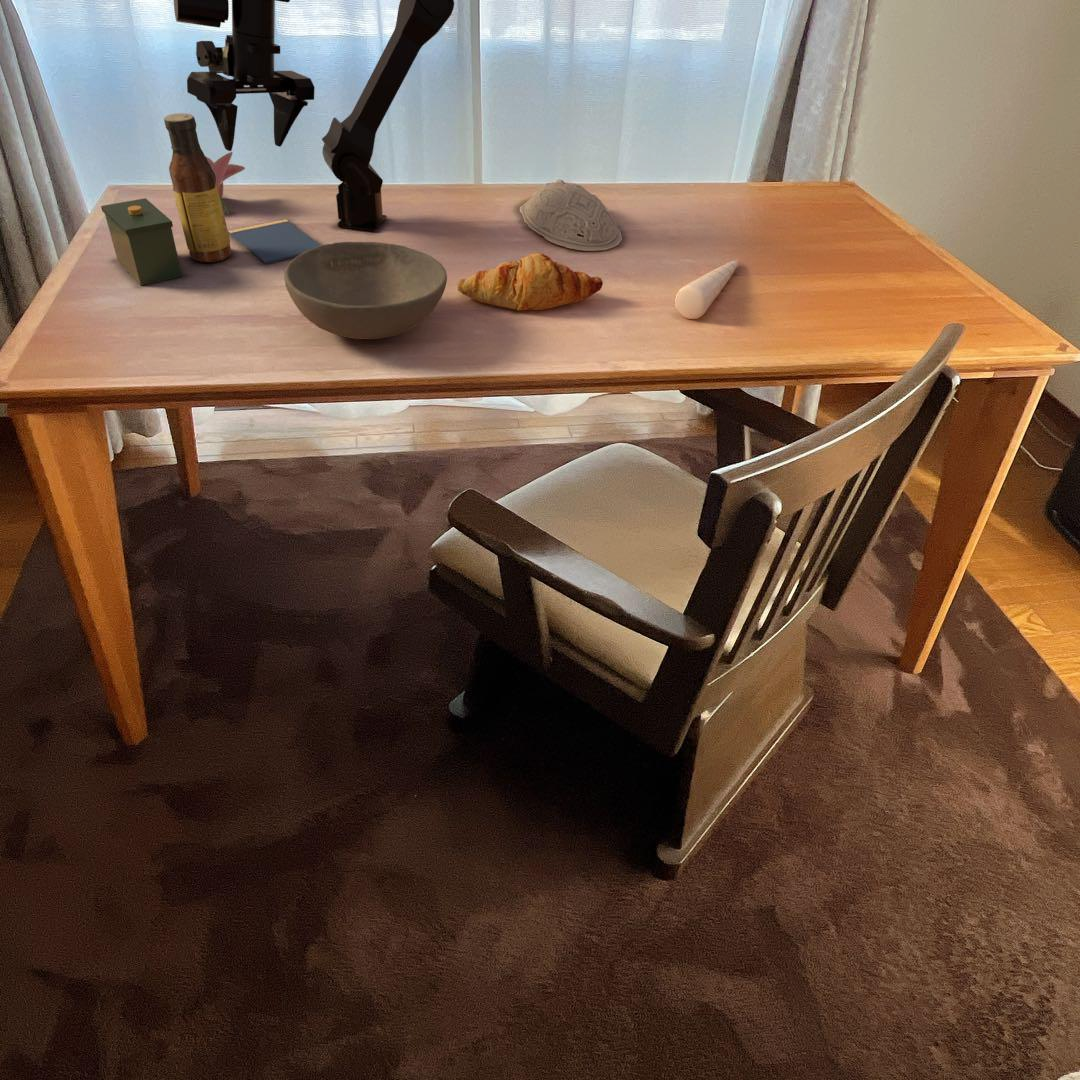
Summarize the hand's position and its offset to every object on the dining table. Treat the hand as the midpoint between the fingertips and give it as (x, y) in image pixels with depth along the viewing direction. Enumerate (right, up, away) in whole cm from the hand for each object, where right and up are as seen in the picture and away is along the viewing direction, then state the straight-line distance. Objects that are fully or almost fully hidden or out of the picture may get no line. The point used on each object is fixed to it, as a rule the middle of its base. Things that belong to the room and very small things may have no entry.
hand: (253, 147), depth 133 cm
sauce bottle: (-7, -16, +1) cm, 18 cm away
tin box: (-14, -20, -4) cm, 24 cm away
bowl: (+20, -30, -13) cm, 39 cm away
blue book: (+2, -12, +6) cm, 14 cm away
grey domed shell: (+49, -5, +19) cm, 53 cm away
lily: (-12, -3, +16) cm, 20 cm away
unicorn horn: (+70, -22, +1) cm, 73 cm away
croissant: (+42, -24, -4) cm, 49 cm away
